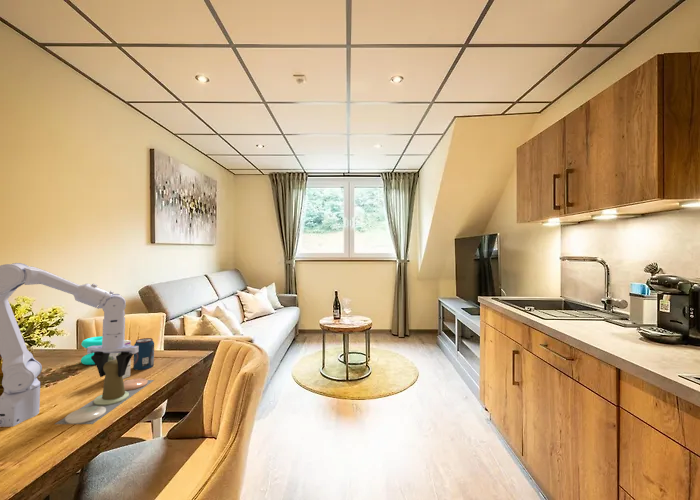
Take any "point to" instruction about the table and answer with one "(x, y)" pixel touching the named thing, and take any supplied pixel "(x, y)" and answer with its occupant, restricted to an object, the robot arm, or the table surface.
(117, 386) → the cork
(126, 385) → the peach dome knob
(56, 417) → the table surface
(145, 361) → the soda can
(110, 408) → the grey board
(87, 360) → the donuts
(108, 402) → the pale green dome knob
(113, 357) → the syrup box
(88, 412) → the white dome knob
